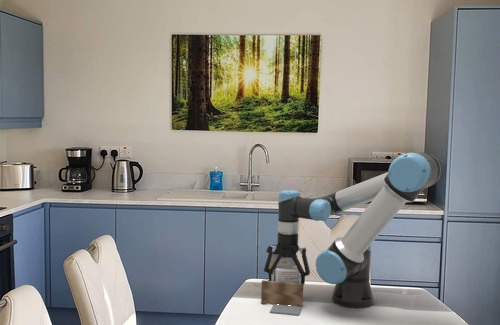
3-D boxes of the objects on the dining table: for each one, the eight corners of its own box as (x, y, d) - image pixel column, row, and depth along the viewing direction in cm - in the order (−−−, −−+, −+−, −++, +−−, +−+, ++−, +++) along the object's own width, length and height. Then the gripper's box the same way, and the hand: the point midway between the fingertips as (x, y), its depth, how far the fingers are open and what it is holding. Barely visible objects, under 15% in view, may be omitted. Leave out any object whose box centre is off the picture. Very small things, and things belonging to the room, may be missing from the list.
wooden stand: (303, 304, 195) (303, 283, 194) (302, 308, 191) (302, 285, 191) (262, 300, 198) (263, 279, 198) (260, 304, 195) (261, 282, 194)
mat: (301, 308, 191) (302, 306, 191) (298, 315, 183) (298, 314, 183) (274, 305, 193) (274, 304, 193) (269, 312, 186) (269, 311, 186)
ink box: (276, 301, 198) (277, 262, 197) (273, 297, 203) (274, 258, 202) (299, 300, 199) (300, 261, 198) (295, 296, 204) (296, 258, 203)
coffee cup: (286, 287, 216) (287, 250, 215) (263, 285, 218) (264, 248, 217) (290, 280, 225) (290, 245, 224) (267, 279, 227) (268, 243, 226)
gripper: (319, 232, 201) (317, 291, 202) (260, 228, 206) (259, 286, 207) (317, 236, 193) (315, 297, 195) (256, 232, 198) (255, 292, 200)
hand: (286, 292), depth 201 cm, fingers closed on ink box, 9 cm apart
